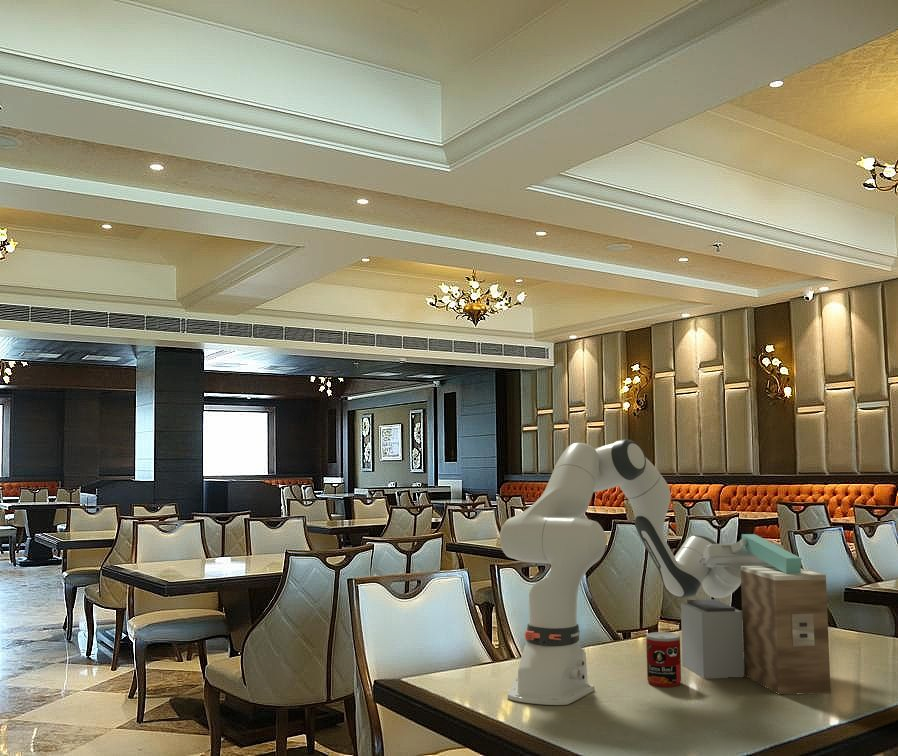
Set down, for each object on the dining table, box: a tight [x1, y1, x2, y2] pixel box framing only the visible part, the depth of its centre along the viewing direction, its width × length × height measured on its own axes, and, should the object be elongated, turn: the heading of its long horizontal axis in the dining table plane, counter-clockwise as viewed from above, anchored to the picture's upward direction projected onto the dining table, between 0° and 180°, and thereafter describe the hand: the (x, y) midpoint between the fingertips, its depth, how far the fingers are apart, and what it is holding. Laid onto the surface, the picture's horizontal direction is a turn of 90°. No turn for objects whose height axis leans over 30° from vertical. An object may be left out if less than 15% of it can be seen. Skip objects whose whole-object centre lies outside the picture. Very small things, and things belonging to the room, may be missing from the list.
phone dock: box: [680, 598, 745, 680], centre depth 220 cm, size 14×10×16 cm
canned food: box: [645, 631, 682, 688], centre depth 208 cm, size 8×8×11 cm
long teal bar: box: [741, 533, 802, 574], centre depth 215 cm, size 24×4×4 cm, turn 6°
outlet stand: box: [740, 566, 832, 695], centre depth 207 cm, size 19×12×26 cm, turn 6°
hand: (754, 541), depth 223 cm, fingers closed on long teal bar, 3 cm apart
